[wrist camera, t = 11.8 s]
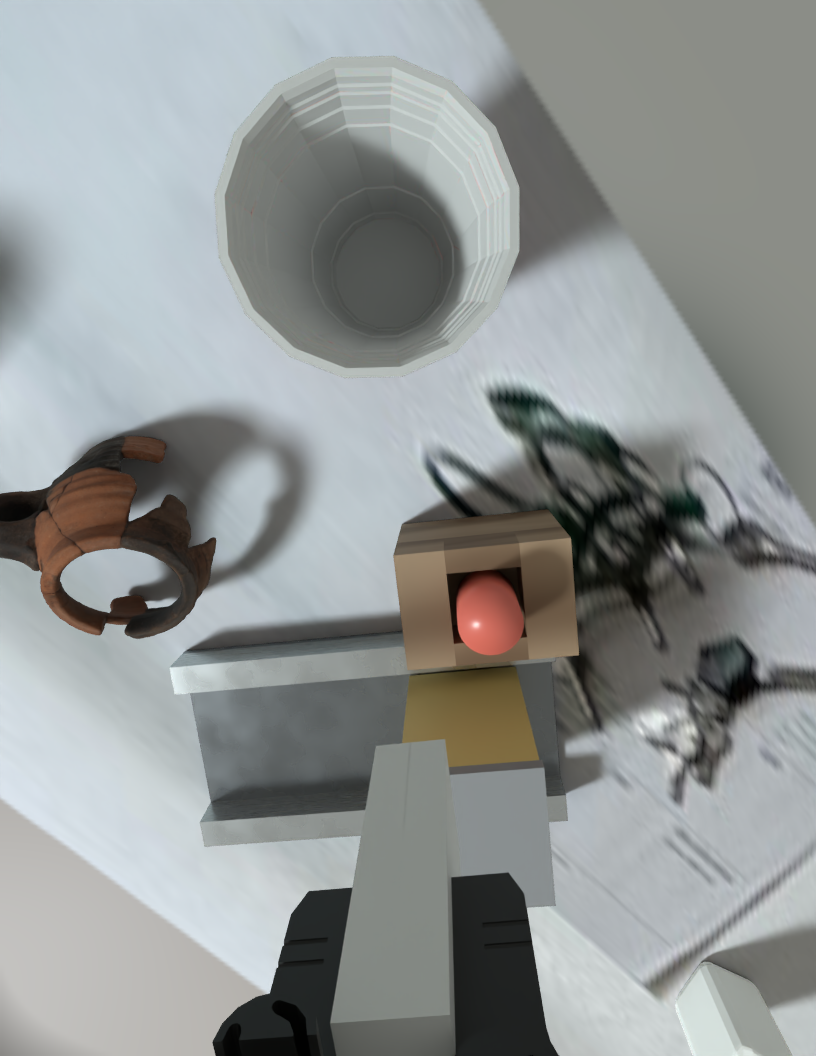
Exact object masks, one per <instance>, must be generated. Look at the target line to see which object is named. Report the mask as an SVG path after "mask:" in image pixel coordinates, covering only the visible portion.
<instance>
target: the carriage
mask: <svg viewBox="0 0 816 1056" xmlns="http://www.w3.org/2000/svg"><path fill="white" fill-rule="evenodd" d="M440 739H445V744H446V751H447V759H448V766H449V774H450V781H451V789H452V796H453V804H454V811H455V819H456V826H457V834H458V841H459V849H460V870H461V876H472V875H484V874H496V873H507V872H509V874H510V875H511V876H512V878H513V879H514V880H515V882H516V883H517V884H518V886H519V887H520V888H521V890H522V891H523V893H524V895H525V902H526V908H528V907H544V906H556V904H555V892H554V880H553V868H552V856H551V844H550V831H549V819H548V807H547V795H546V783H545V771H544V765H543V761H542V760H539V756H538V752H537V748H536V745H535V741H534V737H533V733H532V729H531V725H530V721H529V717H528V713H527V709H526V705H525V701H524V697H523V694H522V690H521V686H520V682H519V678H518V674H517V670H516V666H515V667H504V668H492V669H481V670H470V671H458V672H447V673H435V674H424V675H412V676H409V684H408V693H407V702H406V712H405V721H404V730H403V739H402V743H410V742H420V741H430V740H440Z"/></svg>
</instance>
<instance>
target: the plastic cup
mask: <svg viewBox="0 0 816 1056" xmlns="http://www.w3.org/2000/svg"><path fill="white" fill-rule="evenodd" d="M215 208H216V223H217V238H218V253H219V259H220V262H221V264H222V266H223V268H224V270H225V272H226V274H227V276H228V279H229V281H230V283H231V285H232V287H233V289H234V291H235V294H236V296H237V298H238V300H239V302H240V304H241V306H242V308H243V311H244V313H245V315H246V316H247V317H248V318H249V319H250V320H251V321H253V322H254V323H255V324H256V325H257V326H258V327H259V328H260V329H261V330H262V331H263V332H264V333H265V334H266V335H267V336H268V337H269V338H270V339H272V340H273V341H274V342H275V343H276V344H277V345H278V346H279V347H280V348H281V349H282V350H283V351H284V352H285V353H286V354H287V355H288V356H290V357H292V358H294V359H297V360H300V361H302V362H305V363H307V364H310V365H312V366H315V367H318V368H320V369H323V370H325V371H328V372H330V373H333V374H336V375H338V376H341V377H343V378H366V377H403V376H405V375H407V374H409V373H412V372H414V371H416V370H418V369H420V368H423V367H425V366H427V365H429V364H431V363H434V362H436V361H438V360H440V359H442V358H445V357H447V356H449V355H451V354H453V353H456V352H457V351H458V350H459V349H460V348H461V346H462V345H463V344H464V343H465V342H466V341H467V340H468V339H469V338H470V337H471V336H472V335H473V334H474V333H475V331H476V330H477V329H478V328H479V327H480V326H481V325H482V324H483V323H484V322H485V321H486V320H487V319H488V317H489V316H490V315H491V314H492V313H493V312H494V311H495V310H496V309H497V307H498V305H499V302H500V299H501V297H502V294H503V292H504V289H505V286H506V284H507V281H508V279H509V276H510V274H511V271H512V268H513V266H514V263H515V261H516V258H517V256H518V253H519V185H518V182H517V180H516V177H515V175H514V172H513V170H512V167H511V164H510V162H509V159H508V157H507V154H506V152H505V149H504V147H503V144H502V141H501V139H500V136H499V134H498V131H497V129H496V127H495V126H494V125H493V124H492V123H491V122H490V121H489V119H488V118H487V117H486V116H485V115H484V114H483V113H482V112H481V111H480V110H479V109H478V108H477V107H476V106H475V105H474V104H473V103H472V102H471V100H470V99H469V98H468V97H467V96H466V95H465V94H464V93H463V92H462V91H461V90H460V89H459V88H458V87H457V86H456V85H455V84H454V83H453V82H452V81H451V80H449V79H446V78H444V77H442V76H439V75H437V74H435V73H432V72H430V71H428V70H425V69H423V68H421V67H418V66H416V65H414V64H411V63H409V62H407V61H404V60H402V59H400V58H397V57H395V56H376V57H331V58H329V59H327V60H325V61H323V62H321V63H319V64H317V65H315V66H313V67H311V68H309V69H307V70H305V71H302V72H300V73H298V74H296V75H294V76H292V77H290V78H288V79H286V80H284V81H282V82H280V83H278V84H276V85H274V87H273V88H272V89H271V90H270V91H269V93H268V94H267V95H266V96H265V97H264V98H263V100H262V101H261V102H260V103H259V104H258V105H257V107H256V108H255V109H254V110H253V111H252V113H251V114H250V115H249V116H248V117H247V118H246V120H245V121H244V122H243V123H242V124H241V126H240V127H239V128H238V129H237V130H236V131H235V133H234V135H233V138H232V141H231V144H230V147H229V151H228V154H227V157H226V160H225V163H224V166H223V169H222V172H221V176H220V179H219V182H218V185H217V188H216V191H215Z"/></svg>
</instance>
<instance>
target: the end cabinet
mask: <svg viewBox="0 0 816 1056" xmlns="http://www.w3.org/2000/svg"><path fill="white" fill-rule="evenodd" d="M393 556H394V564H395V572H396V580H397V589H398V597H399V605H400V613H401V621H402V629H403V638H404V646H405V654H406V662H407V670H417V669H428V668H439V667H451V666H462V665H474V664H485V663H496V662H508V661H519V660H531V659H542V658H553V657H565V656H576V655H579V648H578V634H577V619H576V605H575V590H574V575H573V561H572V546H571V537H570V536H569V535H568V534H567V532H566V531H565V530H564V529H563V527H562V526H561V525H560V524H559V523H558V521H557V520H556V519H555V518H554V516H553V515H552V514H551V513H550V511H549V510H548V509H545V510H536V511H526V512H516V513H506V514H497V515H487V516H477V517H467V518H458V519H448V520H438V521H428V522H419V523H409V524H402V526H401V530H400V534H399V537H398V541H397V545H396V548H395V552H394V555H393ZM482 570H495V571H497V572H499V573H501V574H503V575H504V576H505V577H507V578H508V580H509V581H510V582H511V584H512V586H513V588H514V591H515V594H516V597H517V600H518V603H519V606H520V609H521V612H522V615H523V619H524V628H523V633H522V635H521V637H520V639H519V641H518V642H517V643H516V645H515V646H514V647H512V648H511V649H510V650H508V651H506V652H504V653H501V654H498V655H484V654H480V653H477V652H475V651H473V650H472V649H470V648H469V647H468V646H467V645H466V644H465V643H464V642H463V640H462V639H461V637H460V634H459V631H458V623H457V607H456V592H457V589H458V586H459V584H460V582H461V581H462V580H463V579H464V578H465V577H466V576H467V575H468V574H470V573H472V572H474V571H482Z"/></svg>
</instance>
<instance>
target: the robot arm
mask: <svg viewBox="0 0 816 1056" xmlns="http://www.w3.org/2000/svg"><path fill="white" fill-rule="evenodd" d="M213 1046H214V1050H215V1055H216V1056H559V1055H558V1054H557V1052H556V1050H555V1049H554V1047H553V1045H552V1043H551V1042H550V1039H549V1035H548V1032H547V1029H546V1024H545V1018H544V1012H543V1005H542V999H541V993H540V987H539V981H538V975H537V969H536V963H535V957H534V950H533V945H532V938H531V932H530V926H529V920H528V914H527V908H526V902H525V895H524V893H523V891H522V890H521V888H520V887H519V886H518V884H517V883H516V882H515V880H514V879H513V878H512V876H511V875H510V874H509V872H507V873H496V874H484V875H472V876H461V870H460V849H459V841H458V834H457V826H456V819H455V811H454V804H453V796H452V789H451V781H450V774H449V766H448V759H447V751H446V744H445V739H440V740H430V741H420V742H410V743H400V744H390V745H380V746H376V749H375V755H374V761H373V767H372V773H371V779H370V785H369V791H368V797H367V803H366V809H365V815H364V821H363V828H362V834H361V840H360V846H359V852H358V858H357V864H356V870H355V876H354V882H353V888H342V889H331V890H319V891H309V892H308V893H307V894H306V896H305V897H304V898H303V900H302V901H301V902H300V904H299V905H298V906H297V908H296V909H295V910H294V912H293V913H292V914H291V917H290V921H289V924H288V928H287V932H286V936H285V939H284V946H283V947H282V950H281V954H280V958H279V962H278V968H277V969H276V973H275V976H274V980H273V984H272V988H271V991H270V994H266V995H262V996H258V997H255V998H254V999H252V1000H250V1001H248V1002H247V1003H245V1004H243V1005H242V1006H240V1007H238V1008H237V1009H236V1010H235V1011H234V1012H233V1013H232V1014H231V1015H230V1016H229V1017H228V1018H227V1019H226V1020H225V1021H224V1022H223V1023H222V1025H221V1027H220V1029H219V1031H218V1033H217V1035H216V1037H215V1038H214V1040H213Z"/></svg>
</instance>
